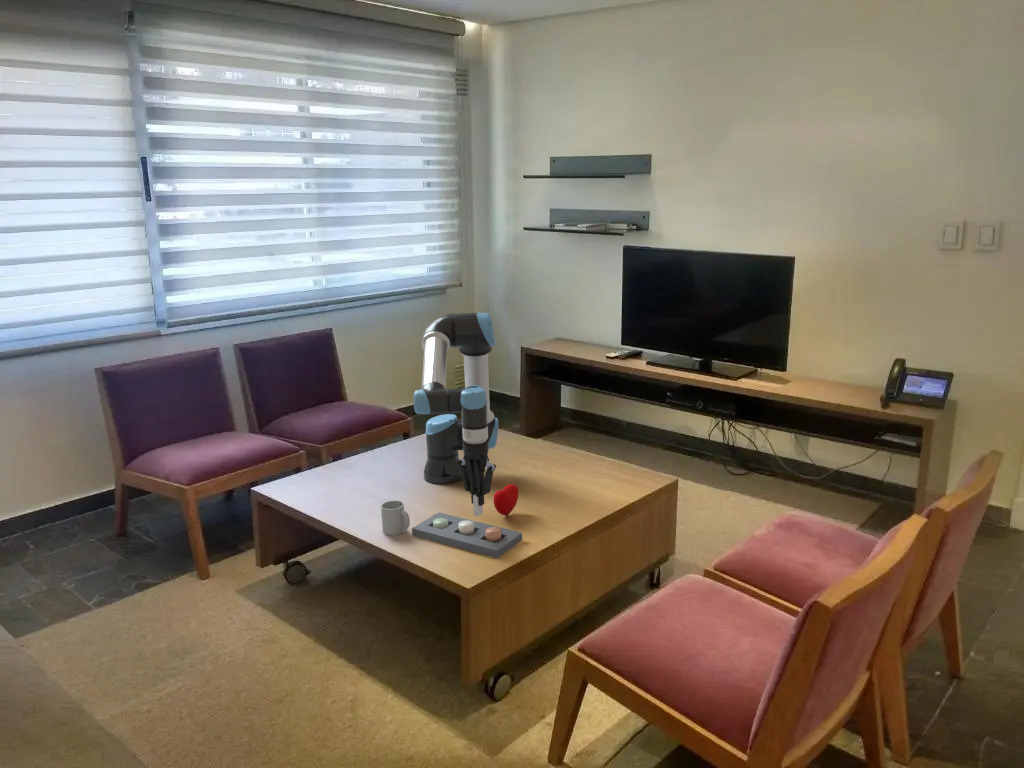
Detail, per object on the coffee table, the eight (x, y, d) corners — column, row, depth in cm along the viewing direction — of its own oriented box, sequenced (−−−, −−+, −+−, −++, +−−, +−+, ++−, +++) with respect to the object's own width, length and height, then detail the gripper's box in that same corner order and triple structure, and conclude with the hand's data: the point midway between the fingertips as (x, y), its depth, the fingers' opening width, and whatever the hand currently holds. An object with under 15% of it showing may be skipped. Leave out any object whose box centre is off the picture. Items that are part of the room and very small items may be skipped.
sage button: (430, 531, 252) (429, 522, 251) (439, 525, 256) (439, 517, 255) (442, 534, 249) (442, 525, 248) (451, 528, 253) (451, 519, 252)
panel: (412, 535, 250) (411, 528, 249) (439, 519, 261) (438, 512, 261) (497, 558, 233) (497, 550, 233) (522, 540, 245) (522, 532, 244)
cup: (392, 524, 258) (390, 498, 256) (417, 530, 253) (415, 504, 251) (378, 533, 252) (376, 506, 250) (402, 539, 247) (401, 512, 245)
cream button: (455, 533, 246) (455, 525, 245) (464, 528, 250) (464, 519, 249) (468, 537, 244) (468, 528, 243) (477, 531, 248) (476, 522, 247)
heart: (504, 524, 256) (503, 495, 254) (490, 520, 259) (489, 492, 257) (522, 511, 266) (522, 483, 263) (509, 508, 269) (508, 480, 266)
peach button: (482, 540, 241) (482, 531, 240) (491, 534, 245) (490, 525, 244) (495, 544, 238) (495, 534, 238) (504, 538, 242) (504, 528, 242)
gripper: (450, 440, 237) (453, 514, 242) (486, 447, 229) (488, 523, 235) (465, 433, 243) (468, 506, 248) (500, 440, 236) (503, 514, 241)
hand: (478, 514), depth 242 cm, fingers closed
